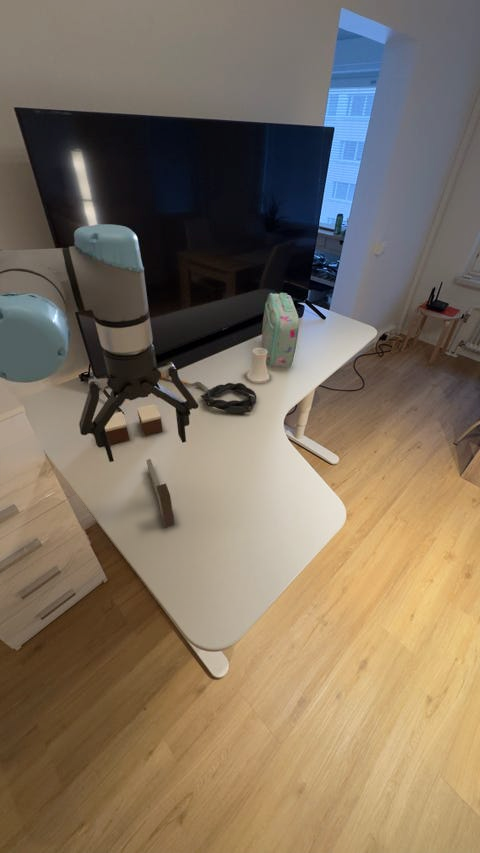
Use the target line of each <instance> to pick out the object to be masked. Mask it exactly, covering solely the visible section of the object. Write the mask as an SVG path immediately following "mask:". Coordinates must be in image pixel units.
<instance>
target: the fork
mask: <svg viewBox="0 0 480 853" xmlns="http://www.w3.org/2000/svg"><path fill="white" fill-rule="evenodd" d="M160 379H162V380H165V381H169V382H172V380H169V379H167V378H166V377H165V376H161V378H160ZM180 380H181V381H182V382H183V384H184V385H185V386H189V387H196V388H200V389H202V390H204V391H206V392H207V390H209V388H208V387H207V386H206V385H205V384H203V383H202V382H200V381H195V382H193V383H190V382H188V381H185V380H182V379H180Z"/></svg>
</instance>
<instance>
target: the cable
mask: <svg viewBox="0 0 480 853" xmlns="http://www.w3.org/2000/svg"><path fill="white" fill-rule="evenodd" d="M228 391H233V392H234V393H236V394H238V395H240V396H244V397H247V398H246V399H242V400H236V399H234V400H232V399H231V400H228V401H227V400H225V399H213V398H216V397H219V396H221V395H222V394H223V393H225V392H228ZM256 394H257V393H255V391H254V390H253V389H252V388H249V387H247V386H246V385H245V384H244V383H242V382H237V383H233V382H226V383H225V384H218V385H215V386H213V387H212V388H208V389H207V391H206V392H204V393H203V394H201V395H200V398H201V399H202V400H203V401H204V404H205V406H207V407H208V408H214V409H217V410H221V411H225V412H226V413H229V414H230V413H231V414H240V415H241V414H246V413H251V411H253V409H254V407H255V405H256V402H257V395H256Z"/></svg>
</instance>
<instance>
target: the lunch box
mask: <svg viewBox="0 0 480 853" xmlns="http://www.w3.org/2000/svg"><path fill="white" fill-rule="evenodd" d="M263 312H264V313H263V318H262V323H261V324H260V334H261V346H262V348H264V349H266V350H267V356H266V365H267V366H269V367H273V366H274V367H282V368H283V367H284V368H291V367H292V366H293V363H294V359H295V354H296V349H297V343H298V337H299V329H300V318H299V315H298V311H297V309H296V307H295V304H294V301H293V299H292V296H291V295H289V294H288V293H287V292H280V293H273V292H270V293H269V294H268V295H267V298H266V302H265V304H264V311H263Z"/></svg>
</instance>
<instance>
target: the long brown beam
mask: <svg viewBox="0 0 480 853" xmlns="http://www.w3.org/2000/svg"><path fill="white" fill-rule="evenodd" d="M146 465H147V470H148V473H149V477H150V479H151V482H152V485H153V489H154V491H155V494H156V497H157V499H158V504H159V510H160V514H161V519H162V522H163V525H164V528H169V527H172V526H175V518H174V512H173V504H172V497H171V493H170V490H169V487H168V485H167V483H163V484H161V483H160V480H159V478H158V475H157V473H156V470H155V467H154V464H153V461H152V459H151V458H148V459H146Z"/></svg>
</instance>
